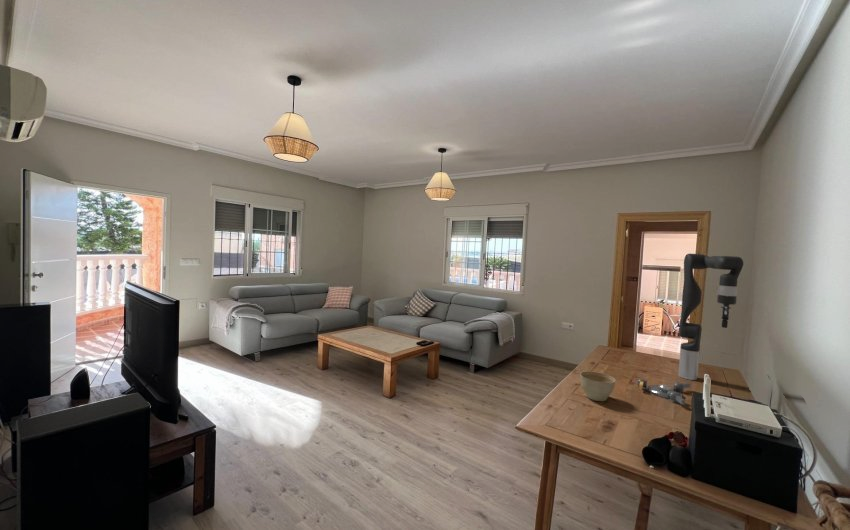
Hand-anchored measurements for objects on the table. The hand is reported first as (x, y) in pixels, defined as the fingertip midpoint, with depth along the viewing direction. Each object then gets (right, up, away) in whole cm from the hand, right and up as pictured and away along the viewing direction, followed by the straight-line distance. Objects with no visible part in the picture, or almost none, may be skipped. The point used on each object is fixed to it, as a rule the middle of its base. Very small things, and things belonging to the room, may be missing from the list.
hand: (724, 327), depth 187 cm
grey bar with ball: (-17, -35, +7) cm, 39 cm away
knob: (-32, -35, -10) cm, 48 cm away
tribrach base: (-31, -35, +4) cm, 47 cm away
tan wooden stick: (-39, -34, +7) cm, 52 cm away
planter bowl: (-70, -34, -7) cm, 79 cm away
